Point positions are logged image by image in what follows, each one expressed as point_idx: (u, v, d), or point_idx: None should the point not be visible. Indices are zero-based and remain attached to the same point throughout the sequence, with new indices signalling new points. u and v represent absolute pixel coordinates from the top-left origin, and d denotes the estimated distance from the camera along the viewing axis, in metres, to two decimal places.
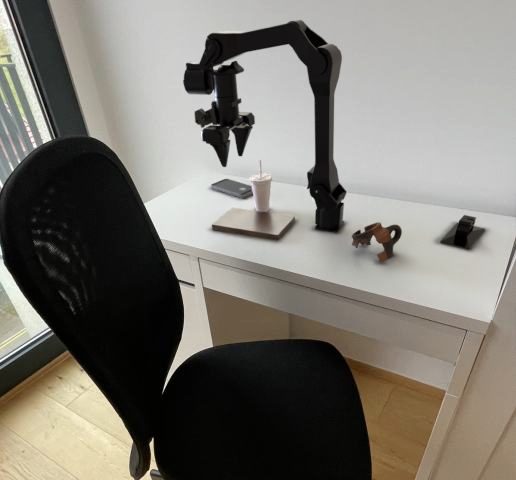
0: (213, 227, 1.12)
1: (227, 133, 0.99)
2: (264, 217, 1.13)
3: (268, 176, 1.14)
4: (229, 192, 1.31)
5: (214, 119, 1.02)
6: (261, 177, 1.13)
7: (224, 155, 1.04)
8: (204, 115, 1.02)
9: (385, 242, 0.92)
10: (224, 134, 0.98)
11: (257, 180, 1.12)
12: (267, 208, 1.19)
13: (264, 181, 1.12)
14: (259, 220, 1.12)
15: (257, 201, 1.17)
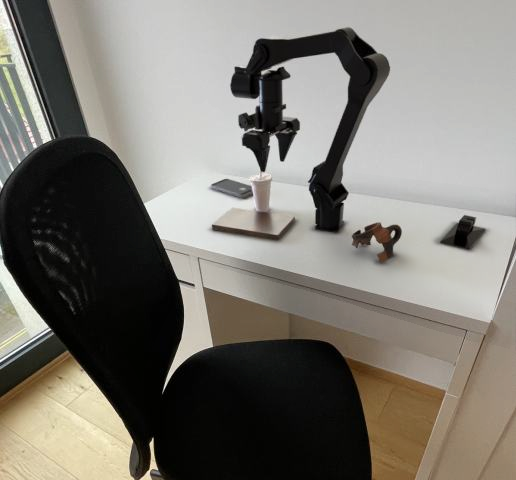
0: (213, 227, 1.12)
1: (267, 139, 0.99)
2: (264, 217, 1.13)
3: (268, 176, 1.14)
4: (229, 192, 1.31)
5: (257, 124, 1.02)
6: (261, 177, 1.13)
7: (263, 160, 1.04)
8: (247, 119, 1.02)
9: (385, 242, 0.92)
10: (263, 140, 0.98)
11: (257, 180, 1.12)
12: (267, 208, 1.19)
13: (264, 181, 1.12)
14: (259, 220, 1.12)
15: (257, 201, 1.17)
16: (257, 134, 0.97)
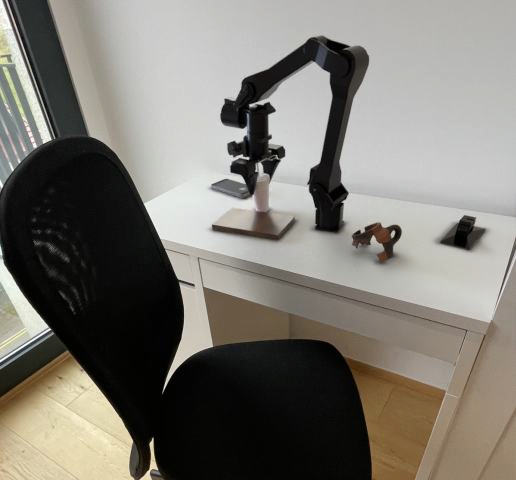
0: (213, 227, 1.12)
1: (253, 167, 1.06)
2: (264, 217, 1.13)
3: (266, 176, 1.14)
4: (229, 192, 1.31)
5: (244, 152, 1.09)
6: (259, 177, 1.13)
7: (252, 185, 1.11)
8: (235, 147, 1.09)
9: (385, 242, 0.92)
10: (250, 169, 1.05)
11: None
12: (267, 207, 1.19)
13: (262, 181, 1.12)
14: (259, 220, 1.12)
15: (256, 201, 1.17)
16: (244, 163, 1.05)
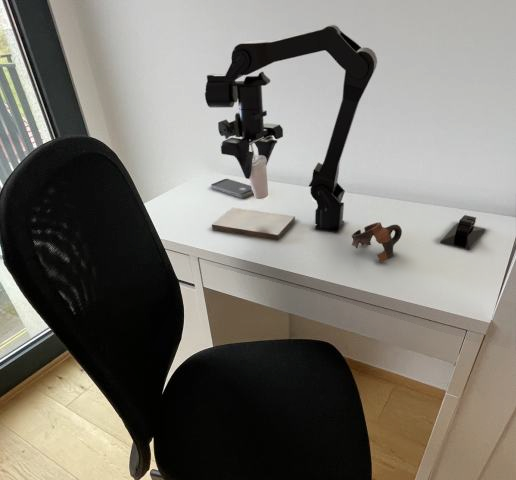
0: (213, 227, 1.12)
1: (246, 147, 0.96)
2: (264, 217, 1.13)
3: (262, 158, 1.04)
4: (229, 192, 1.31)
5: (237, 131, 0.99)
6: (255, 160, 1.03)
7: (247, 167, 1.01)
8: (227, 127, 0.99)
9: (385, 242, 0.92)
10: (242, 148, 0.95)
11: None
12: (266, 192, 1.09)
13: (258, 164, 1.02)
14: (259, 220, 1.12)
15: (254, 187, 1.07)
16: (236, 142, 0.94)
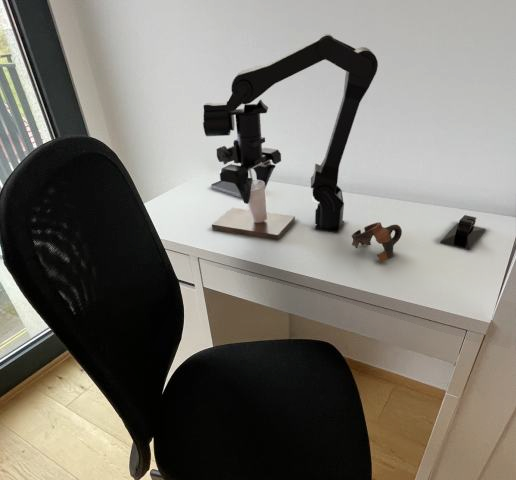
0: (213, 227, 1.12)
1: (245, 174, 0.96)
2: None
3: (261, 183, 1.04)
4: (229, 192, 1.31)
5: (235, 157, 0.99)
6: (253, 185, 1.04)
7: (246, 192, 1.01)
8: (226, 153, 0.99)
9: (385, 242, 0.92)
10: (241, 176, 0.95)
11: None
12: (265, 216, 1.09)
13: (257, 190, 1.02)
14: None
15: (252, 211, 1.07)
16: (235, 169, 0.95)
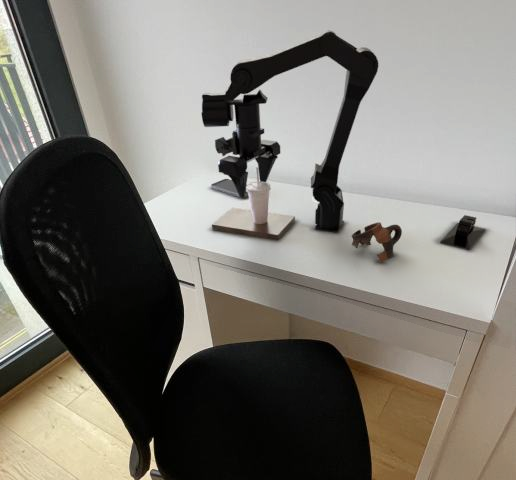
0: (213, 227, 1.12)
1: (244, 165, 0.94)
2: None
3: (266, 184, 1.05)
4: (229, 192, 1.31)
5: (234, 149, 0.98)
6: (259, 186, 1.04)
7: (241, 186, 0.99)
8: (224, 144, 0.98)
9: (385, 242, 0.92)
10: (240, 167, 0.94)
11: (255, 189, 1.03)
12: (266, 218, 1.10)
13: (263, 190, 1.03)
14: None
15: (255, 211, 1.08)
16: (233, 161, 0.93)
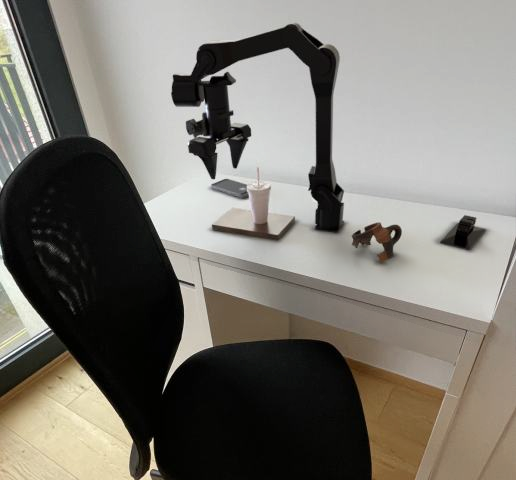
0: (213, 227, 1.12)
1: (213, 146, 0.96)
2: None
3: (266, 184, 1.05)
4: (229, 192, 1.31)
5: (204, 130, 1.00)
6: (259, 186, 1.04)
7: (212, 167, 1.01)
8: (195, 126, 1.00)
9: (385, 242, 0.92)
10: (209, 148, 0.96)
11: (255, 189, 1.03)
12: (266, 218, 1.10)
13: (263, 190, 1.03)
14: None
15: (255, 211, 1.08)
16: (202, 141, 0.95)
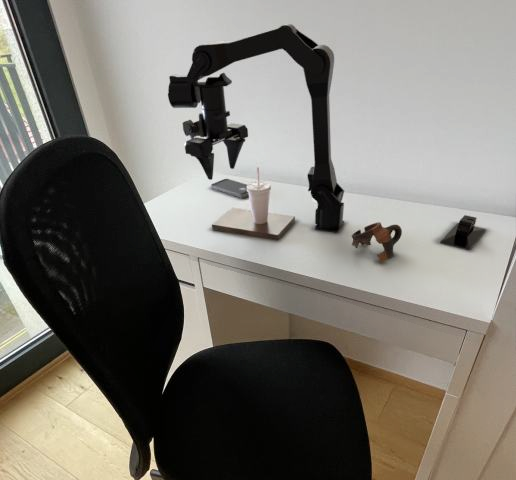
0: (213, 227, 1.12)
1: (209, 147, 0.97)
2: None
3: (266, 184, 1.05)
4: (229, 192, 1.31)
5: (201, 131, 1.00)
6: (259, 186, 1.04)
7: (208, 168, 1.02)
8: (191, 127, 1.00)
9: (385, 242, 0.92)
10: (205, 148, 0.96)
11: (255, 189, 1.03)
12: (266, 218, 1.10)
13: (263, 190, 1.03)
14: None
15: (255, 211, 1.08)
16: (199, 142, 0.96)
